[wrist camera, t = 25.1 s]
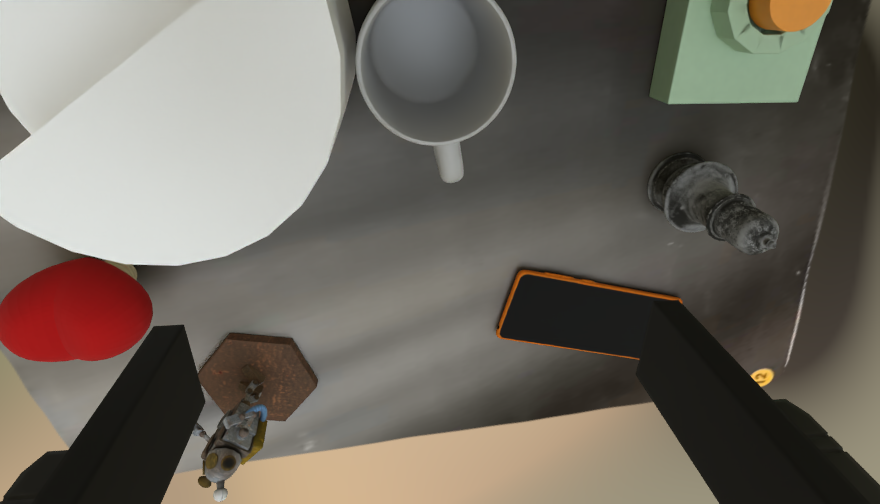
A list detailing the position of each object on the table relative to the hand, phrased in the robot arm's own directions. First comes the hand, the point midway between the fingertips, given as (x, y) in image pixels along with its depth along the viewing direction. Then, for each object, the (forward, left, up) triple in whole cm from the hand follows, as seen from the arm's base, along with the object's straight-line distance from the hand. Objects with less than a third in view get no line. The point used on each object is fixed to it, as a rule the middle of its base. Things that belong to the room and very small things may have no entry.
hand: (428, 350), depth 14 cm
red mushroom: (+11, -23, -27) cm, 37 cm away
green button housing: (-9, +24, -27) cm, 37 cm away
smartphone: (+18, +17, -27) cm, 36 cm away
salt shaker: (+5, +23, -27) cm, 36 cm away
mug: (-4, +2, -27) cm, 27 cm away
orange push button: (-9, +24, -22) cm, 34 cm away
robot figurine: (+23, -14, -27) cm, 38 cm away
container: (-6, -13, -27) cm, 30 cm away
